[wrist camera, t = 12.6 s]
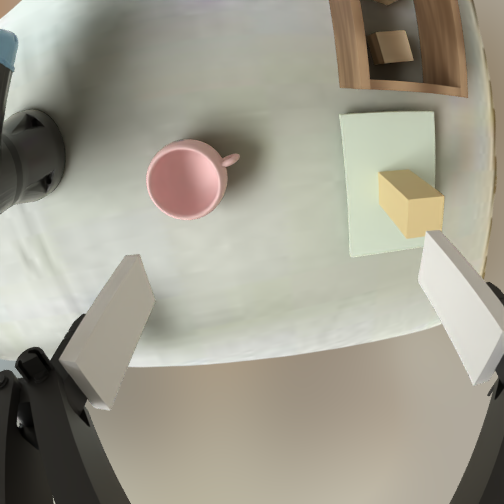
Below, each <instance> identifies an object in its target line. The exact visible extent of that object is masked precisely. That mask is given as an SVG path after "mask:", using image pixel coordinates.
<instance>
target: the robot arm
mask: <svg viewBox="0 0 504 504" xmlns="http://www.w3.org/2000/svg"><path fill="white" fill-rule="evenodd" d="M17 48H18V38H17V36H16V35H15V34H14V33H13V32H11V31H7V30H3V29H0V214H1V213H3V212H4V211H5V210H7V209H8V208H10V207H11V206H12V205H15V204H22V203H28V202H34V201H38V200H40V199H42V198H44V197H45V196H47V195H48V194H49V193H51V192H52V191H53V190H54V189H55V188H56V187H57V185H58V184H59V182H60V180H61V178H62V175H63V171H64V166H65V149H64V143H63V139H62V136H61V133H60V131H59V129H58V127H57V125H56V124H55V123H54V121H53V120H52V119H51V118H50V117H49V116H48V115H47V114H45V113H44V112H42V111H39V110H35V109H29V110H25V111H21V112H18V113H15V114H13V115H12V116H10V117H9V118H8V119H7V120H5V121H4V115H5V108H6V102H7V97H8V92H9V87H10V82H11V77H12V73H13V72H14V70H15V68H14V62H15V57H16V53H17ZM418 283H419V284H420V286H421V288H422V289H423V291H424V293H425V294H426V296H427V298H428V299H429V301H430V303H431V305H432V306H433V308H434V310H435V312H436V313H437V315H438V317H439V319H440V321H441V322H442V324H443V326H444V328H445V330H446V332H447V333H448V335H449V337H450V339H451V341H452V343H453V345H454V347H455V349H456V351H457V353H458V355H459V357H460V359H461V361H462V363H463V365H464V367H465V369H466V371H467V373H468V376H469V378H470V380H471V382H472V384H473V386H475V385H478V384H481V383H484V382H487V381H489V379H490V378H491V376H492V375H493V373H494V371H496V372H497V375H498V379H497V380H496V382H495V383H494V385H493V386H492V388H491V389H490V391H489V393H488V396H490V394H491V393H492V392H493V393H492V397H491V401H490V404H489V408H488V411H487V414H486V417H485V420H484V423H483V426H482V429H481V432H480V435H479V438H478V441H477V443H476V446H475V449H474V451H473V454H472V456H471V459H470V461H469V464H468V466H467V468H466V471H465V473H464V475H463V477H462V479H461V481H460V484H459V486H458V488H457V490H456V492H455V494H454V496H453V498H452V500H451V502H450V504H504V294H503V293H502V292H501V290H500V289H499V288H497V287H496V286H495V285H493V284H492V283H490V282H485V281H484V280H483V279H482V277H481V276H480V275H479V274H478V273H477V271H476V270H475V269H474V268H473V267H472V265H471V264H470V263H469V262H468V261H467V260H466V258H465V257H464V256H463V255H462V254H461V253H460V252H459V251H458V249H457V248H456V247H455V246H454V245H453V244H452V243H451V242H450V241H449V239H448V238H447V237H446V236H445V235H444V234H443V233H442V232H441V231H440V230H432V231H426V234H425V241H424V247H423V254H422V259H421V265H420V270H419V276H418ZM155 302H156V300H155V297H154V295H153V292H152V289H151V286H150V283H149V281H148V278H147V275H146V272H145V269H144V266H143V263H142V260H141V257H140V254H136V255H126V256H125V257H124V259H123V260H122V261H121V263H120V264H119V266H118V267H117V268H116V270H115V271H114V273H113V274H112V276H111V277H110V279H109V280H108V282H107V283H106V285H105V286H104V287H103V289H102V290H101V292H100V293H99V295H98V297H97V298H96V300H95V301H94V303H93V304H92V306H91V307H90V309H89V310H88V312H87V314H82V315H81V316H80V317H79V318H78V319H77V320H75V321H74V323H73V324H72V326H71V327H70V329H69V332H67V334H66V335H65V337H64V339H63V340H62V342H61V343H60V345H59V347H58V348H57V350H56V352H55V353H54V355H53V357H52V359H51V360H49V359H48V357H47V356H46V354H45V353H44V351H43V350H42V349H41V348H39V347H32V348H29V349H27V350H25V351H24V352H23V353H22V354H21V355H20V356H19V357H18V359H17V361H16V364H15V368H16V369H17V370H18V371H19V373H20V374H21V375H22V376H23V378H16V376H15V375H14V374H13V372H12V371H10V370H4V371H1V372H0V504H54V503H53V498H54V501H55V503H56V504H131V503H130V501H129V499H128V498H127V496H126V494H125V492H124V490H123V488H122V487H121V485H120V483H119V481H118V479H117V477H116V475H115V473H114V471H113V469H112V466H111V464H110V463H109V460H108V458H107V456H106V453H105V451H104V449H103V447H102V444H101V442H100V440H99V437H98V435H97V432H96V430H95V427H94V425H93V422H92V420H91V417H90V415H89V412H88V410H87V409H86V407H85V403H86V401H87V399H88V400H89V402H90V403H91V404H92V405H93V406H94V408H98V409H104V410H111V409H112V406H113V403H114V401H115V398H116V396H117V393H118V390H119V388H120V385H121V383H122V380H123V377H124V375H125V372H126V370H127V368H128V365H129V363H130V360H131V358H132V355H133V353H134V351H135V348H136V346H137V343H138V341H139V339H140V336H141V334H142V332H143V329H144V327H145V325H146V322H147V320H148V318H149V315H150V313H151V311H152V309H153V306H154V304H155ZM17 420H18V421H19V422H20V426H19V427H17Z"/></svg>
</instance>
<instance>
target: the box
mask: <svg viewBox="0 0 504 504" xmlns="http://www.w3.org/2000/svg"><path fill="white" fill-rule="evenodd" d="M329 3H330V10H331V16H332V23H333V30H334V38H335V46H336V54H337V63H338V73H339V83H340V88H353V89H378V90H399V91H413V92H425V93H434V94H443V95H451V96H458V97H465V98H468V88H467V69H466V57H465V47H464V38H463V30H462V24H461V17H460V11H459V6H458V0H414V5H415V11H416V18H417V24H418V31H419V39H420V48H421V58H422V70H423V83H416V82H404V81H389V80H370V75H369V64H368V55H367V46H366V37H365V30H364V23H363V16H362V10H361V3H360V0H329Z"/></svg>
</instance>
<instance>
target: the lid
mask: <svg viewBox="0 0 504 504" xmlns="http://www.w3.org/2000/svg"><path fill="white" fill-rule="evenodd" d="M339 119H340V127H341V135H342V145H343V155H344V165H345V177H346V190H347V206H348V225H349V253H350V256H351V258H352V257H359V256H366V255H373V254H380V253H387V252H394V251H400V250H407V249H414V248H420V247H424V241H425V234H426V231H432V230H440V231H441V232H442V222H443V210H444V195H442V194H441V193H440V192H439V191H437V190H436V189H435V124H434V112H433V111H384V112H364V113H349V114H339Z"/></svg>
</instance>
